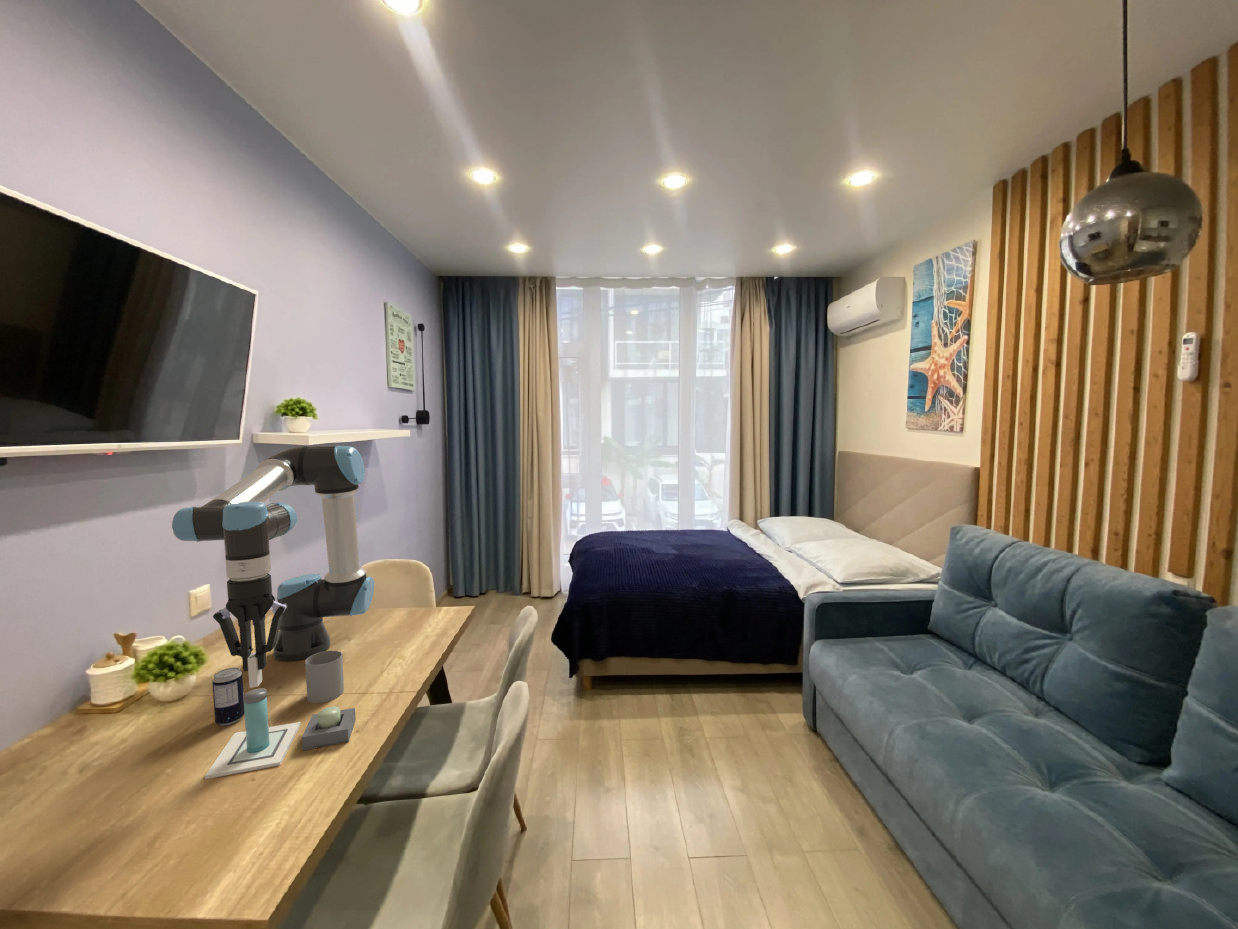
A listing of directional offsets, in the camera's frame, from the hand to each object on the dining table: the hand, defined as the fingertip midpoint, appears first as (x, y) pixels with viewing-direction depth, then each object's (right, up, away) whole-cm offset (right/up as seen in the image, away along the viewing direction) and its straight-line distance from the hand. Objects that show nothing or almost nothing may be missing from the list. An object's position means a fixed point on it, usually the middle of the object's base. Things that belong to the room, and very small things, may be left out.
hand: (255, 684), depth 108 cm
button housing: (+12, -15, +8) cm, 20 cm away
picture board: (-1, -15, +2) cm, 16 cm away
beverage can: (-16, -15, +13) cm, 25 cm away
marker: (-1, -15, +2) cm, 15 cm away
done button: (+12, -13, +7) cm, 19 cm away
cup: (0, -14, +25) cm, 28 cm away
